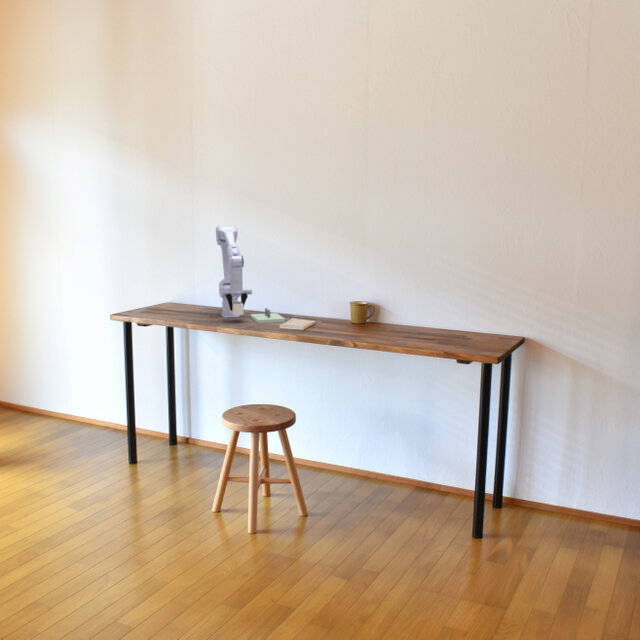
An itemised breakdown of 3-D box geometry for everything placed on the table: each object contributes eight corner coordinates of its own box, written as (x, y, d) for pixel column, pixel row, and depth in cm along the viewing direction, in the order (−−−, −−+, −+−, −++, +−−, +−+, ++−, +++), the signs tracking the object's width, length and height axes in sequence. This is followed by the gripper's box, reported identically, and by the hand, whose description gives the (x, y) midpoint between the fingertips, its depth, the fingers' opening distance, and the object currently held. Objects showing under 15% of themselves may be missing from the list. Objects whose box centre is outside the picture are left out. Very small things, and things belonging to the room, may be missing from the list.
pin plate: (250, 317, 379) (250, 307, 378) (276, 316, 383) (276, 306, 382) (257, 323, 364) (257, 312, 363) (285, 321, 368) (285, 311, 367)
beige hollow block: (230, 311, 371) (229, 301, 370) (239, 311, 372) (239, 301, 371) (233, 315, 362) (233, 304, 361) (243, 314, 364) (243, 304, 363)
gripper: (222, 282, 359) (222, 312, 361) (253, 281, 363) (253, 310, 365) (219, 280, 365) (220, 309, 368) (250, 279, 369) (250, 308, 372)
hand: (236, 310), depth 367 cm, fingers closed on beige hollow block, 5 cm apart
